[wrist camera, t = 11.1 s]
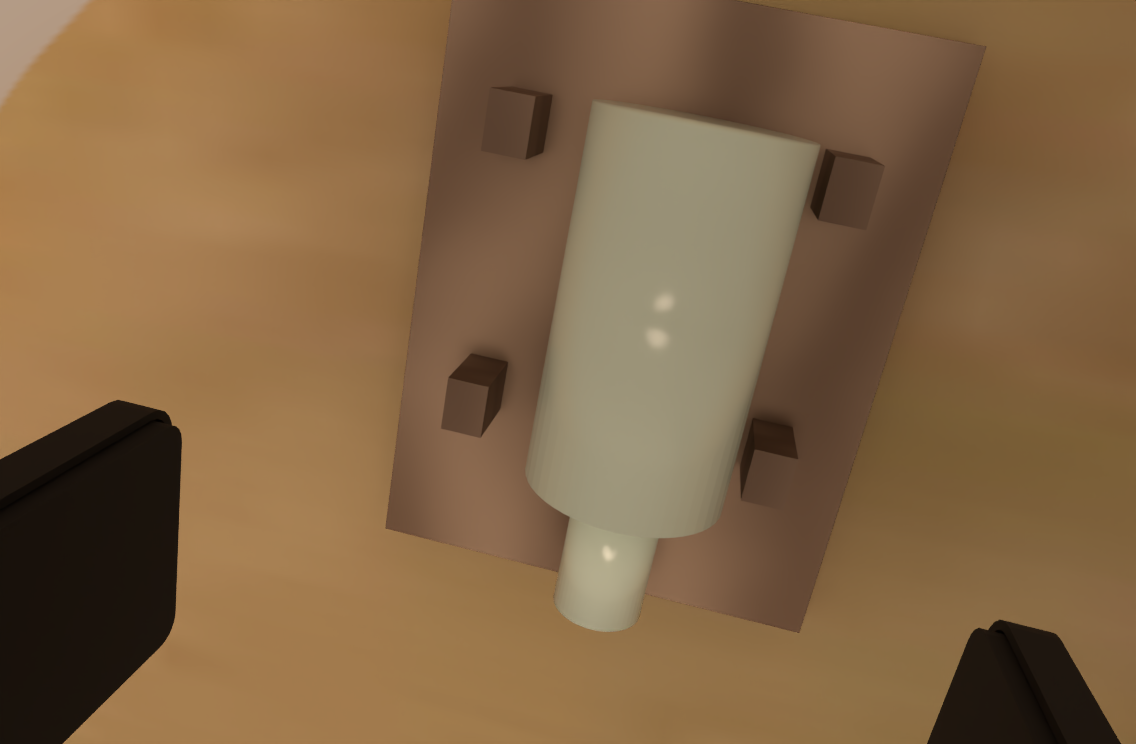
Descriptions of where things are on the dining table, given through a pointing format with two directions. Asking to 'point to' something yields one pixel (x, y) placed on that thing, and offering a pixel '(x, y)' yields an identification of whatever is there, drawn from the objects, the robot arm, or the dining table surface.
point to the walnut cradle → (538, 240)
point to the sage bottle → (658, 338)
